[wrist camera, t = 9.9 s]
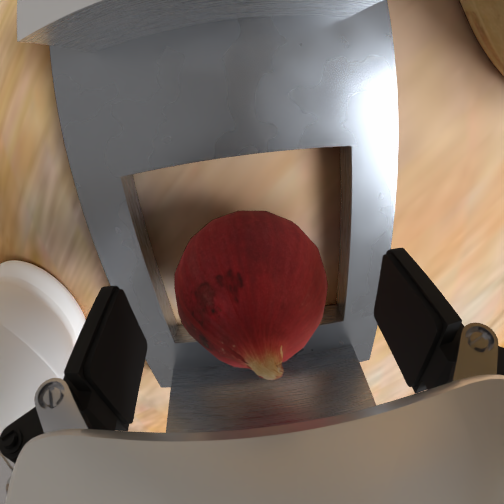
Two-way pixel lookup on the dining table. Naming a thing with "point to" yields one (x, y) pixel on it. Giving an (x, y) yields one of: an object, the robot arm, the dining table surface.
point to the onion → (251, 290)
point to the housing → (235, 144)
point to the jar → (32, 334)
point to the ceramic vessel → (488, 27)
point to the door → (151, 17)
